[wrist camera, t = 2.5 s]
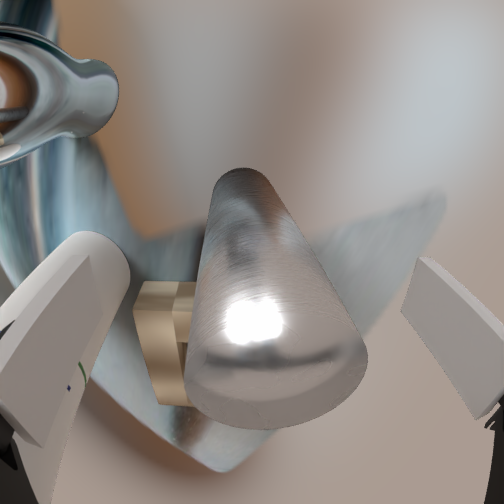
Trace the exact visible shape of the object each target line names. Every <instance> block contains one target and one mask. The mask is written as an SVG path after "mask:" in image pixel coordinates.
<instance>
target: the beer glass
mask: <svg viewBox="0 0 504 504" xmlns="http://www.w3.org/2000/svg"><path fill="white" fill-rule="evenodd" d="M118 97H119V84H118V80H117V77H116V75H115V73H114V71H113V70H112V69H111V67H109V66H108V65H107V64H106V63H104V62H102V61H99V60H94V59H75V58H73V57H72V56H70V55H69V54H68V53H66V52H65V51H64V50H62V49H61V48H60V47H58V46H57V45H56V44H54V43H53V42H52V41H50V40H49V39H47V38H45V37H44V36H42V35H40V34H38V33H37V32H35V31H33V30H30V29H27V28H25V27H22V26H19V25H16V24H12V23H7V22H2V21H0V169H2V168H4V167H6V166H8V165H10V164H12V163H14V162H15V161H17V160H19V159H21V158H23V157H25V156H26V155H28V154H30V153H31V152H33V151H34V150H36V149H38V148H40V147H41V146H43V145H44V144H46V143H48V142H50V141H51V140H53V139H55V138H57V137H61V136H63V137H69V138H84V137H87V136H90V135H92V134H94V133H96V132H97V131H98V130H100V129H101V128H102V127H103V126H104V125H105V124H106V123H107V122H108V121H109V120H110V118H111V116H112V115H113V113H114V111H115V109H116V105H117V102H118Z"/></svg>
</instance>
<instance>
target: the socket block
mask: <svg viewBox="0 0 504 504" xmlns="http://www.w3.org/2000/svg"><path fill="white" fill-rule="evenodd" d="M196 284H197V282H174V281H144V283H143V285H142V287H141V290H140V292H139V294H138V297H137V299H136V301H135V304H134V306H133V309H132V312H133V316H134V320H135V325H136V329H137V333H138V337H139V341H140V344H141V348H142V352H143V355H144V359H145V362H146V366H147V369H148V373H149V376H150V379H151V382H152V385H153V389H154V392H155V395H156V398H157V401H158V403H159V404H162V405H176V406H194V405H193V404H192V402H191V401H190V400H189V398H188V396H187V394H186V391H185V388H184V371H185V363H186V354H187V346H186V342H188V339H189V331H190V324H191V317H192V310H193V303H194V297H195V290H196Z"/></svg>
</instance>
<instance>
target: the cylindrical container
mask: <svg viewBox="0 0 504 504" xmlns="http://www.w3.org/2000/svg"><path fill="white" fill-rule="evenodd" d="M72 255H89V258H90V263H91V268H92V272H93V277H94V281H95V285H96V289H97V293H98V297H99V301H100V305H101V309H102V312H103V315H102V317H101V319H100V321H99V323H98V325H97V327H96V329H95V331H94V333H93V335H92V337H91V339H90V341H89V343H88V345H87V347H86V349H85V351H84V353H83V355H82V357H81V359H80V361H79V363H78V365H77V367H76V370H75V372H74V374H73V376H72V378H71V381H70V383H69V385H68V387H67V390H66V392H65V394H64V397H63V399H62V402H61V404H60V406H59V409H58V411H57V414H56V416H55V419H54V422H53V424H52V427H51V430H50V432H49V435H48V438H47V441H46V443H45V446H44V449H43V448H40V447H37V446H35V445H32V444H30V443H27V442H25V441H24V440H23V439H22V438H21V437H20V436H19V435H18V434H17V433H16V432H15V431H14V434H13V436H12V438H13V439H14V440H15V442H16V444H17V447H18V450H19V453H20V456H21V459H22V462H23V465H24V468H25V471H26V474H27V477H28V479H29V482H30V484H31V487H32V489H33V492H34V494H35V496H36V499H37V501H38V503H39V504H51V500H52V495H53V491H54V486H55V482H56V478H57V474H58V470H59V466H60V463H61V459H62V456H63V452H64V449H65V446H66V442H67V439H68V436H69V432H70V429H71V426H72V423H73V420H74V417H75V414H76V412H77V408H78V406H79V403H80V400H81V397H82V395H83V392H84V389H85V386H86V384H87V381H88V379H89V376H90V374H91V371H92V369H93V366H94V364H95V361H96V359H97V356H98V354H99V351H100V349H101V347H102V344H103V342H104V340H105V337H106V335H107V333H108V330H109V328H110V326H111V324H112V322H113V319H114V317H115V315H116V313H117V311H118V309H119V306H120V304H121V302H122V300H123V298H124V296H125V294H126V292H127V290H128V288H129V284H130V269H129V265H128V262H127V260H126V257H125V256H124V254H123V252H122V251H121V250H120V249H119V247H118V246H117V245H116V244H115V243H114V242H113V241H111V240H110V239H109V238H107V237H105V236H104V235H102V234H99V233H96V232H92V231H80V232H76V233H74V234H72V235H70V236H69V237H68V238H67V239H66V240H65V241H64V242H62V243H61V244H60V245H59V246H58V247H57V248H56V249H55V250H54V251H53V252H52V253H51V254H50V255H49V256H48V257H47V258H46V259H45V260H44V261H43V262H42V263H41V264H40V265H39V266H38V267H37V268H36V269H35V270H34V271H33V272H32V273H31V274H30V275H29V276H28V277H27V278H26V279H25V280H24V281H23V282H22V283H21V284H20V286H19V287H18V288H17V289H16V290H15V291H14V292H13V293H12V294H11V296H10V297H9V298H8V299H7V300H6V301H5V302H4V304H3V305H2V306H1V307H0V332H1V331H2V329H3V328H4V327H6V326H7V325H8V324H10V323H11V322H12V321H14V320H16V319H17V317H18V316H19V315H20V314H21V312H22V311H23V310H24V309H25V307H26V306H27V305H28V304H29V303H30V301H31V300H32V299H33V298H34V297H35V295H36V294H37V293H38V292H39V291H40V290H41V288H42V287H43V286H44V285H45V284H46V283H47V282H48V281H49V279H50V278H51V277H52V276H53V275H54V274H55V273H56V272H57V271H58V270H59V269H60V267H61V266H62V265H63V264H64V263H65V262H66V261H67V260H68V259H69V258H70V257H71V256H72Z"/></svg>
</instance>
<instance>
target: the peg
mask: <svg viewBox="0 0 504 504" xmlns="http://www.w3.org/2000/svg"><path fill="white" fill-rule="evenodd" d="M367 363H368V354H367V349H366V346H365V344H364V342H363V340H362V338H361V336H360V334H359V332H358V330H357V329H356V327H355V325H354V323H353V321H352V319H351V317H350V316H349V314H348V312H347V310H346V308H345V307H344V305H343V303H342V301H341V299H340V298H339V296H338V294H337V292H336V291H335V289H334V287H333V285H332V284H331V282H330V280H329V278H328V277H327V275H326V273H325V271H324V270H323V268H322V266H321V265H320V263H319V261H318V259H317V258H316V256H315V254H314V253H313V251H312V249H311V248H310V246H309V244H308V243H307V241H306V239H305V238H304V236H303V234H302V233H301V231H300V230H299V228H298V226H297V225H296V223H295V221H294V220H293V218H292V217H291V215H290V213H289V212H288V210H287V209H286V207H285V205H284V204H283V202H282V201H281V199H280V198H279V196H278V194H277V193H276V191H275V190H274V188H273V187H272V185H271V184H270V182H269V180H268V179H267V178H266V177H265V176H264V175H263V174H262V173H260V172H258V171H257V170H254V169H250V168H236V169H233V170H231V171H228V172H227V173H225V174H224V175H223V176H221V178H220V179H219V180H218V181H217V183H216V185H215V187H214V190H213V194H212V199H211V205H210V209H209V215H208V220H207V225H206V231H205V236H204V242H203V248H202V253H201V259H200V265H199V271H198V278H197V284H196V290H195V297H194V303H193V310H192V317H191V324H190V331H189V339H188V347H187V354H186V363H185V371H184V388H185V391H186V394H187V396H188V398H189V400H190V401H191V402H192V404H193V405H194V406H195V407H196V408H197V409H198V410H199V411H200V412H202V413H203V414H205V415H206V416H208V417H209V418H211V419H213V420H215V421H218V422H220V423H223V424H226V425H229V426H233V427H238V428H245V429H258V430H263V429H278V428H284V427H290V426H294V425H298V424H301V423H304V422H307V421H310V420H312V419H315V418H317V417H319V416H321V415H323V414H325V413H327V412H329V411H331V410H332V409H334V408H335V407H337V406H338V405H339V404H341V403H342V402H343V401H344V400H346V399H347V398H348V397H349V396H350V395H351V394H352V393H353V392H354V390H355V389H356V388H357V387H358V385H359V384H360V382H361V380H362V378H363V377H364V374H365V371H366V368H367Z"/></svg>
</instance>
